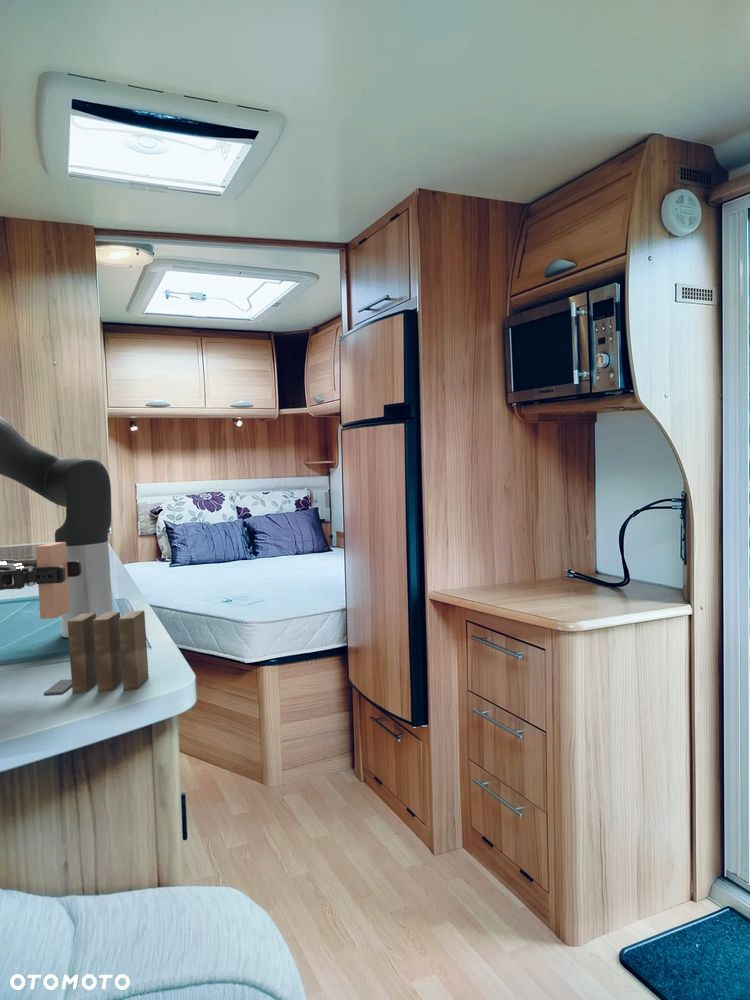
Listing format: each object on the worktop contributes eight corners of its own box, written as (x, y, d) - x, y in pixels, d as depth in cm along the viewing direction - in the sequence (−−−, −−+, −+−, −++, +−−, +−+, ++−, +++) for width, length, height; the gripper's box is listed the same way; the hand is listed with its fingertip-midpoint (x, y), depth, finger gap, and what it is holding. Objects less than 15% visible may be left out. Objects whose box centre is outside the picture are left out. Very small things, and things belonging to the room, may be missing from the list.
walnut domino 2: (98, 691, 95) (93, 620, 94) (110, 680, 100) (106, 612, 99) (112, 690, 95) (107, 619, 94) (124, 679, 100) (120, 611, 99)
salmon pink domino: (40, 618, 94) (35, 546, 93) (56, 611, 99) (51, 542, 98) (55, 618, 94) (50, 545, 93) (70, 610, 99) (66, 542, 98)
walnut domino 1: (72, 692, 95) (67, 621, 94) (86, 681, 100) (81, 613, 99) (87, 692, 95) (82, 620, 94) (100, 680, 100) (95, 612, 99)
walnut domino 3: (123, 690, 95) (118, 618, 94) (134, 678, 100) (130, 611, 99) (138, 689, 95) (133, 618, 94) (148, 678, 100) (144, 610, 99)
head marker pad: (43, 694, 94) (43, 692, 94) (60, 682, 100) (60, 679, 100) (62, 693, 94) (62, 691, 94) (78, 681, 100) (78, 679, 100)
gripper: (-86, 556, 88) (48, 551, 89) (-25, 544, 103) (90, 539, 103) (-81, 614, 89) (52, 608, 89) (-21, 594, 103) (93, 588, 104)
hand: (72, 571), depth 96 cm, fingers closed on salmon pink domino, 5 cm apart
